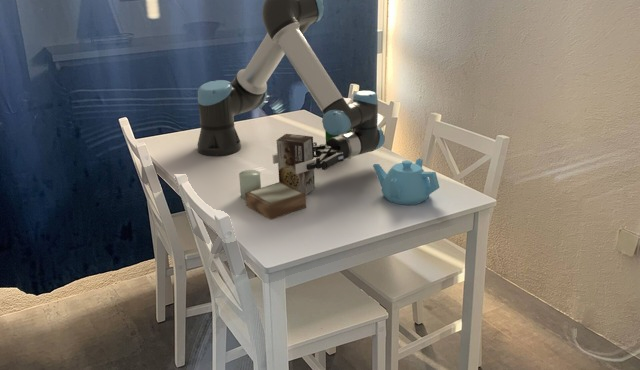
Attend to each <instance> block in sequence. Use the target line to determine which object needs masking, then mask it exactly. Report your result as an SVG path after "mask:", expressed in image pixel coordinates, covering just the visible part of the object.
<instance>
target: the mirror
mask: <svg viewBox="0 0 640 370" xmlns="http://www.w3.org/2000/svg"><path fill="white" fill-rule="evenodd" d="M306 196H307V195H306V194H304V193H302V192H300V191H298V190H296V189H294V188H292V187H290V186H288V185H285V184H283V183H281V182H279V181H278V182H276V183H273V184H270V185H266V186H263V187H262V186H261V188H259V189H256V190H253V191H249V192H246V193H245V197H246V200H245V206H246V207H248V208H250V209H251V210H252V211H255V212H256V213H258V214H260V215H261V216H263V217H265V218H267V219H269V220H273V219H277V218H280V217H283V216H285V215H288V214H291V213H294V212H297V211H299V210H302V209H305V208H306V207H307V199H306V198H307V197H306Z"/></svg>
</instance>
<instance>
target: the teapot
mask: <svg viewBox="0 0 640 370" xmlns="http://www.w3.org/2000/svg"><path fill="white" fill-rule="evenodd" d="M423 160H424V159H423V158H417V159H416V160H415V163H413V161H411V160H403V161H401V162H399V163H396V164H394V165H392V166H391V167H390V169H389V170H388V172H387V173H386V171H385V170H384V168H383V167H382V166H381V165H380V164H379V163H374V164H373V165H372V167H373V170H374V172H375V174H376V177H377V179H378V182H379V185H380V186H381V193H382V195H383V196H384V198H386V200H387V201H389V202H390V203H394V204H396V205H397V204H398V205H403V206H404V205H406V206H407V205H408V206H413V205H417V204H420V203H421V204H422V203H423V202H424V201H426V199H428V197H430V195H431V194H432V193H434V192H436V191H437V190H438V189H440V183H439V180H438V176H437V173H436V171H424V169H423Z"/></svg>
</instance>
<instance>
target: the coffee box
mask: <svg viewBox="0 0 640 370" xmlns="http://www.w3.org/2000/svg"><path fill="white" fill-rule="evenodd" d="M313 143H314V137H313V136H309V135H302V134H294V133H293V134H291V133H284V134H283V135H282V136H280V137H279V138H277V139H276V151H277V153H276V154H277V155H278V163H277V167H278V182H281V183H283V184H285V185H288V186H290V187H292V188H294V189H296V190H298V191H300V192H302V193H304V194H306V196H307V195H308V194H309V193H310V192H312V191H313V190H314V189H315V186H316V185H315V169H312V170H309V171H306V172H303V173H299V174H296V168H295V164H299V163H302V162H305V161H309V160H312V159H314V160H315V158H314V155H315V154H314V155H313Z"/></svg>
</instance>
